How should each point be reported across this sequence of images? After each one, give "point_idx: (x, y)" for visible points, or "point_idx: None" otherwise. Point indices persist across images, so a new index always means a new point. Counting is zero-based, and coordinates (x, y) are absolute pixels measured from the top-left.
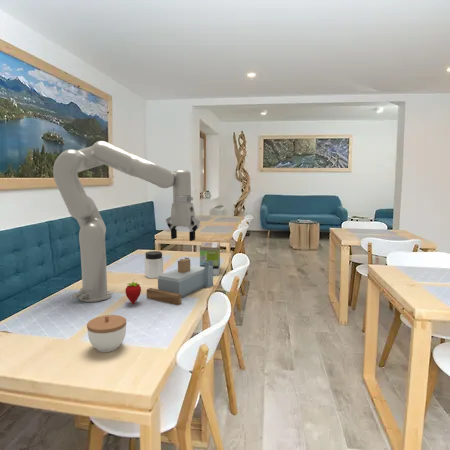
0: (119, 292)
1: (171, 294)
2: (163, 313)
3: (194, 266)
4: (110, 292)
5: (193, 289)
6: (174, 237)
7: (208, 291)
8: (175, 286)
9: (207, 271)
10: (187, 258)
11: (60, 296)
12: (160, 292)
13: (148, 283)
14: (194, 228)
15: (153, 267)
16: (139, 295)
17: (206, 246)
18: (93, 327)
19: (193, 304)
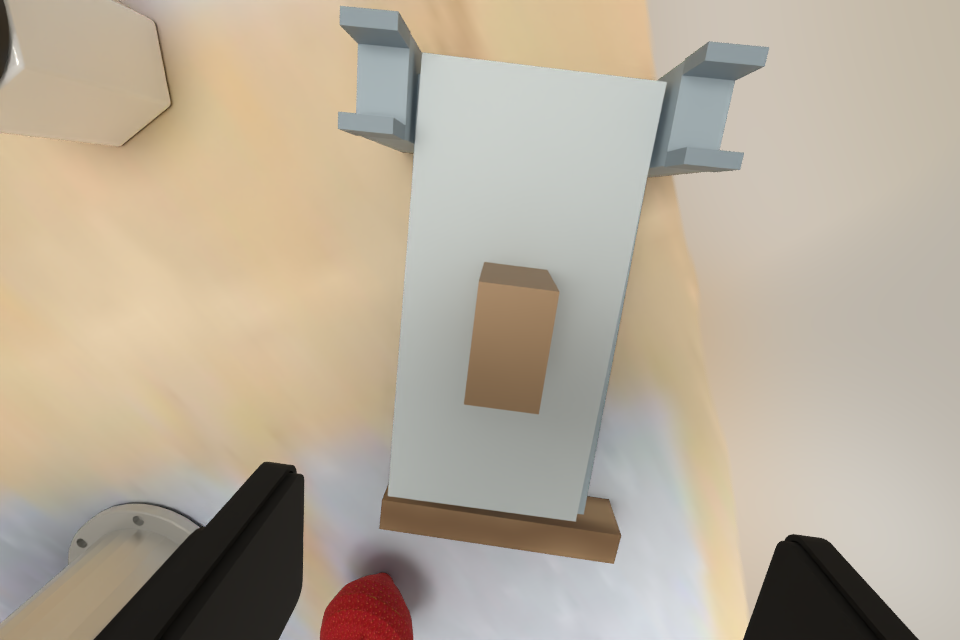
0: (194, 470)
1: (568, 555)
2: (588, 623)
3: (511, 102)
4: (182, 531)
5: None
6: (293, 560)
7: (679, 258)
8: None
9: (687, 171)
10: (384, 31)
11: (6, 606)
12: (487, 544)
13: (208, 260)
14: None
15: (67, 115)
16: (406, 606)
17: None
18: None
19: (676, 490)
